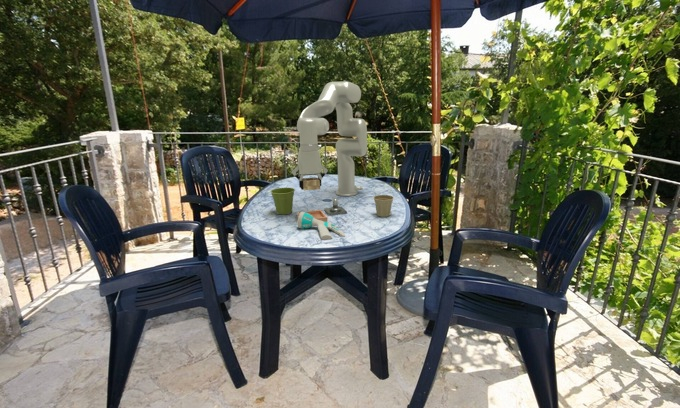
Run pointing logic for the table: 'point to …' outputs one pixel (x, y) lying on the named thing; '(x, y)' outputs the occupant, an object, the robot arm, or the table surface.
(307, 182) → the wooden ring
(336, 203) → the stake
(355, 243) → the table surface
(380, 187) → the table surface
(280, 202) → the plant pot
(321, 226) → the garden hose nozzle
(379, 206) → the flower pot
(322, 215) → the terracotta tray
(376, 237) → the table surface
